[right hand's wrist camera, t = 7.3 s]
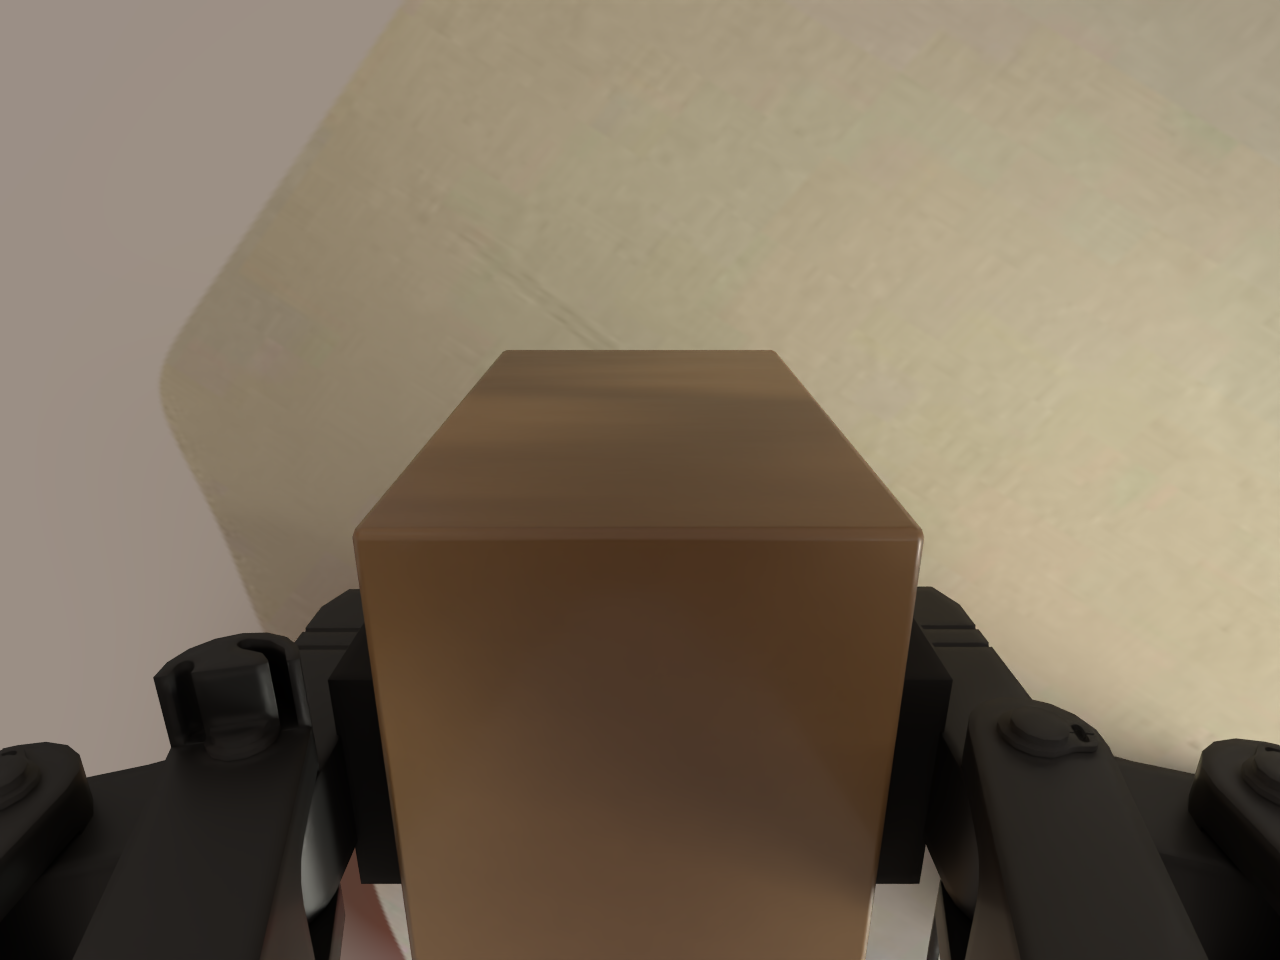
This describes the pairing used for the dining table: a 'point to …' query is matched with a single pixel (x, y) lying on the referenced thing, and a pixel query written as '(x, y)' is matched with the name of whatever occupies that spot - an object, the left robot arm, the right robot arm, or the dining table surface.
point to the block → (638, 663)
